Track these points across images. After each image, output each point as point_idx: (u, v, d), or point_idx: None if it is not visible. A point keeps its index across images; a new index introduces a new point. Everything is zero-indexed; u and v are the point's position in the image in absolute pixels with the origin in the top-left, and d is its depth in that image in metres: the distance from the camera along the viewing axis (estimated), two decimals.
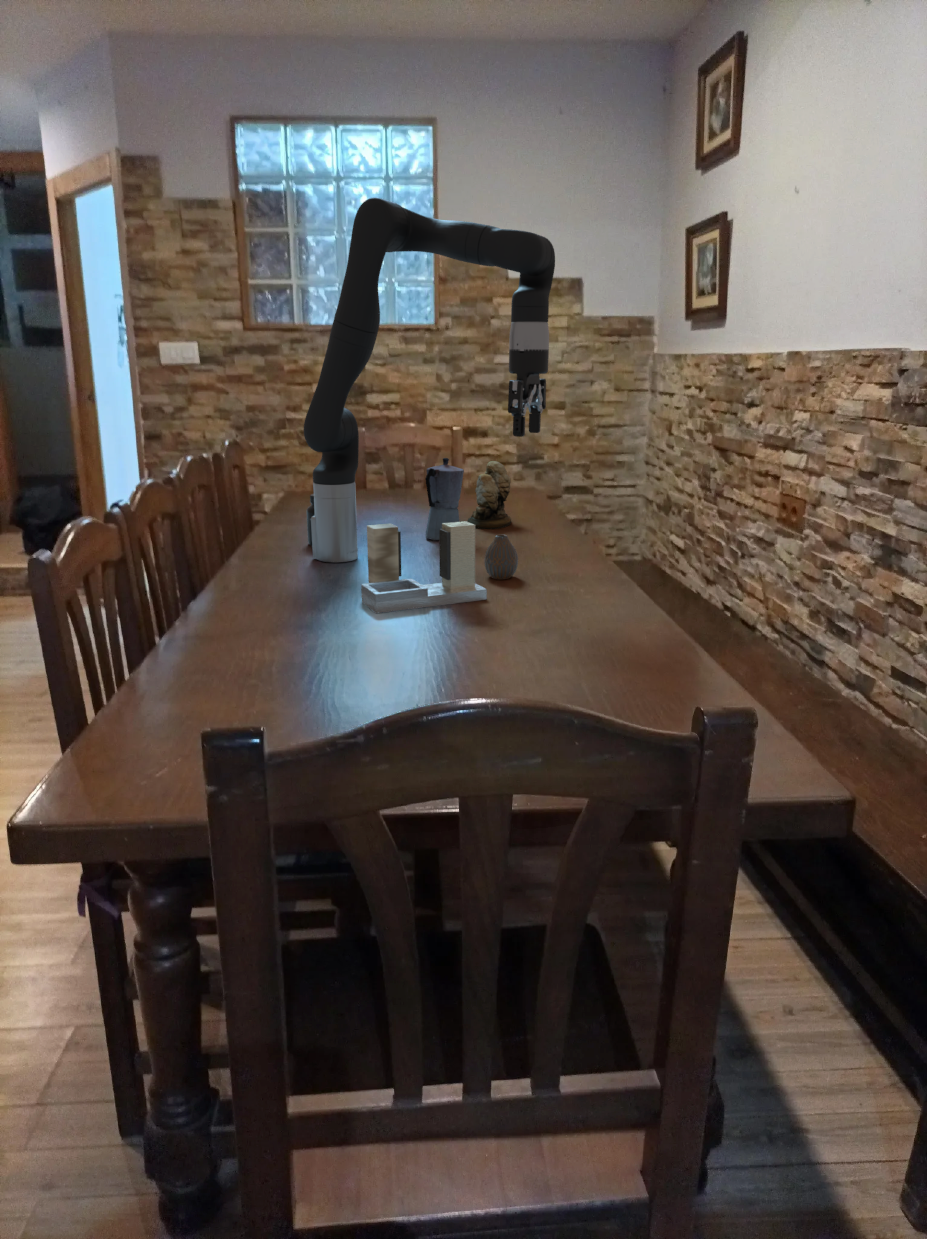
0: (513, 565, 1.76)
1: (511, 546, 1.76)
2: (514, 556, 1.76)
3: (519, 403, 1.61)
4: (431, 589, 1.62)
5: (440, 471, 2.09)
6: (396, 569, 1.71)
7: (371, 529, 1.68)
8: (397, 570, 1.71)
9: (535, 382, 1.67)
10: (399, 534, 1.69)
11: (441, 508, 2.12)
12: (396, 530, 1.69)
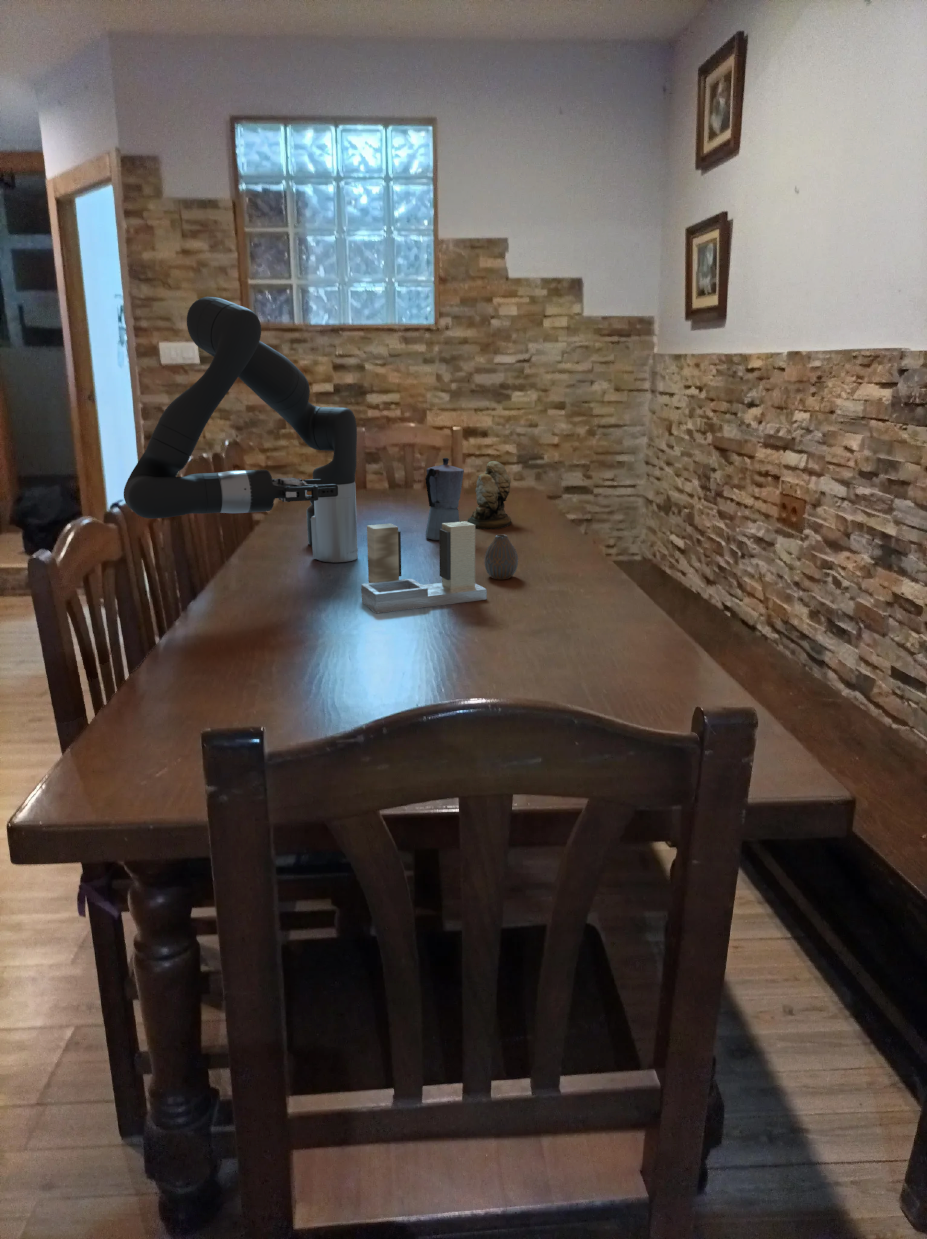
0: (513, 565, 1.76)
1: (511, 546, 1.76)
2: (514, 556, 1.76)
3: None
4: (431, 589, 1.62)
5: (440, 471, 2.09)
6: (396, 569, 1.71)
7: (371, 529, 1.68)
8: (397, 570, 1.71)
9: None
10: (399, 534, 1.69)
11: (441, 508, 2.12)
12: (396, 530, 1.69)
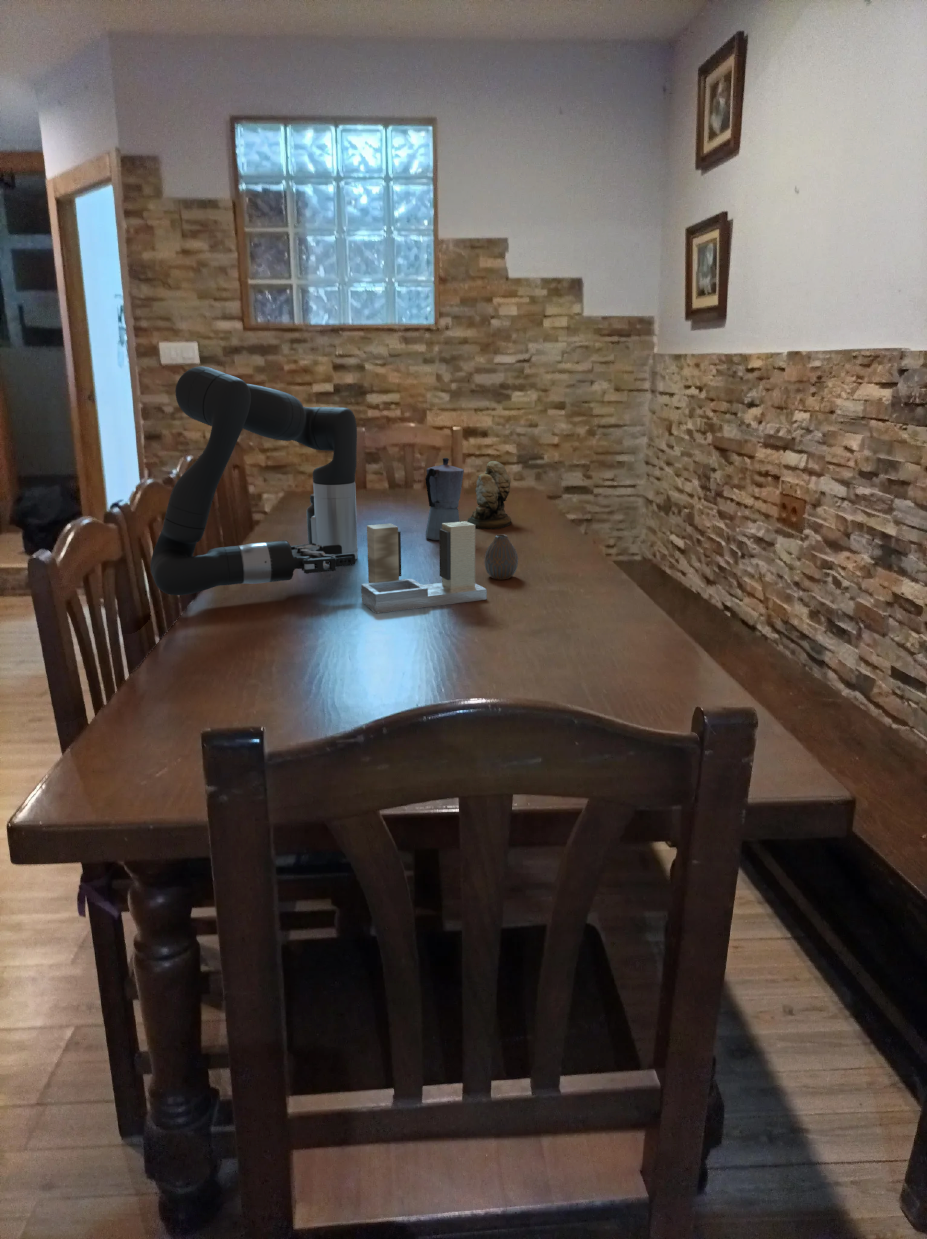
0: (513, 565, 1.76)
1: (511, 546, 1.76)
2: (514, 556, 1.76)
3: None
4: (431, 589, 1.62)
5: (440, 471, 2.09)
6: (396, 569, 1.71)
7: (371, 529, 1.68)
8: (397, 570, 1.71)
9: None
10: (399, 534, 1.69)
11: (441, 508, 2.12)
12: (396, 530, 1.69)
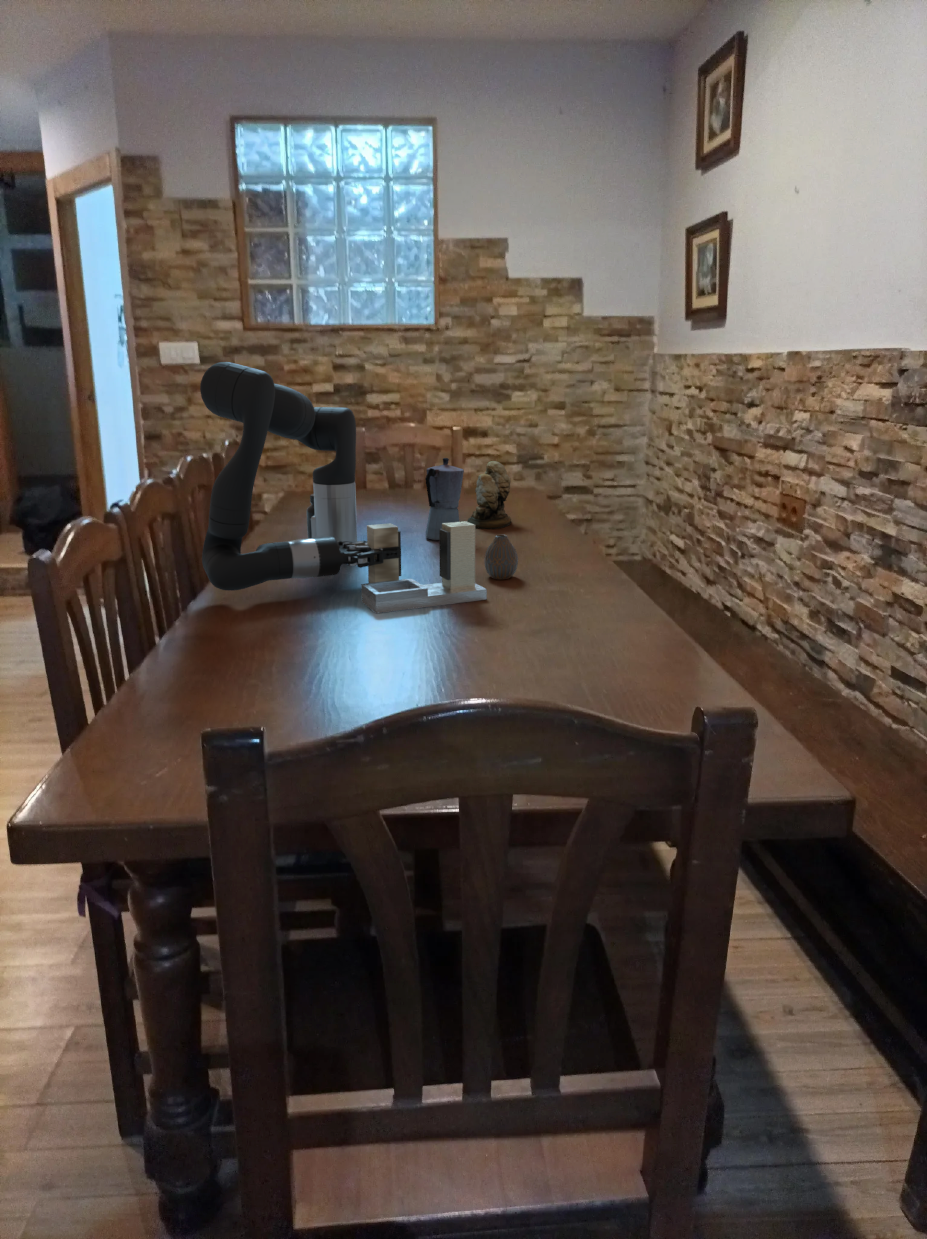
0: (513, 565, 1.76)
1: (511, 546, 1.76)
2: (514, 556, 1.76)
3: None
4: (431, 589, 1.62)
5: (440, 471, 2.09)
6: (396, 569, 1.71)
7: (371, 529, 1.68)
8: (397, 570, 1.71)
9: None
10: (399, 534, 1.69)
11: (441, 508, 2.12)
12: (396, 530, 1.69)
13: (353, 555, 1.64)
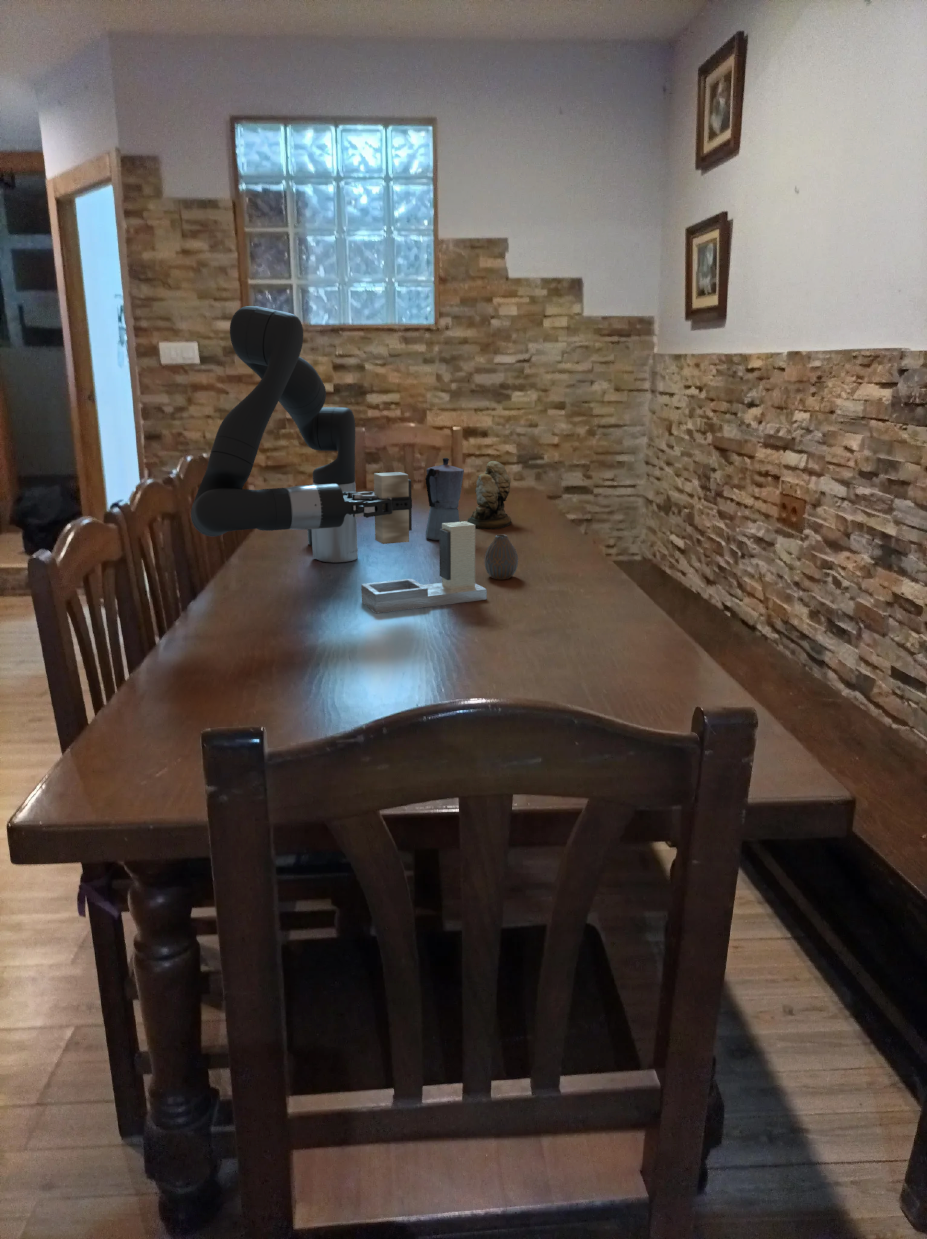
0: (513, 565, 1.76)
1: (511, 546, 1.76)
2: (514, 556, 1.76)
3: None
4: (431, 589, 1.62)
5: (440, 471, 2.09)
6: (406, 522, 1.54)
7: (379, 477, 1.51)
8: (407, 523, 1.54)
9: None
10: (410, 483, 1.52)
11: (441, 508, 2.12)
12: (406, 478, 1.52)
13: (359, 504, 1.47)
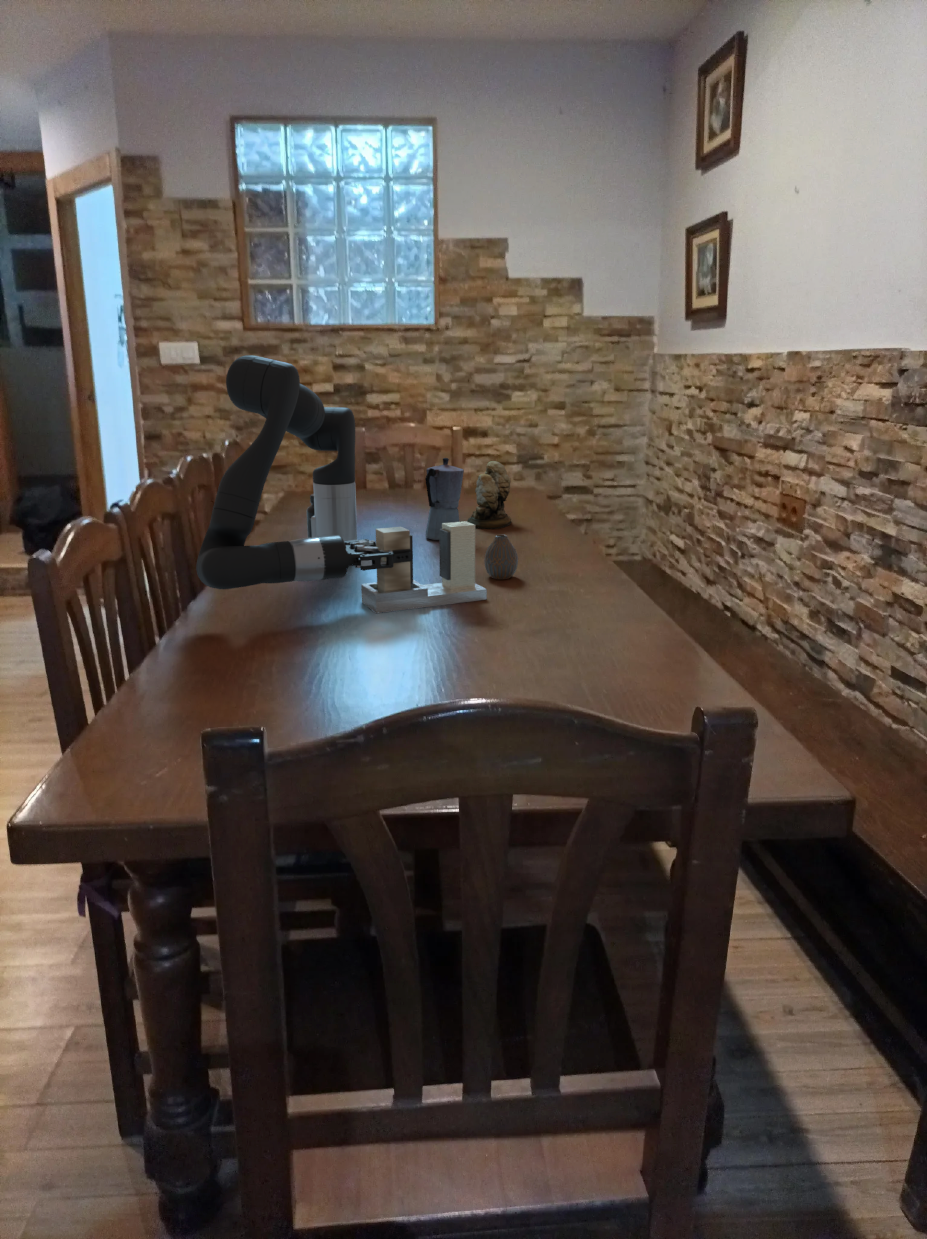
0: (513, 565, 1.76)
1: (511, 546, 1.76)
2: (514, 556, 1.76)
3: None
4: (431, 589, 1.62)
5: (440, 471, 2.09)
6: (407, 576, 1.57)
7: (380, 533, 1.54)
8: (409, 577, 1.57)
9: None
10: (411, 538, 1.55)
11: (441, 508, 2.12)
12: (408, 534, 1.55)
13: (359, 556, 1.49)
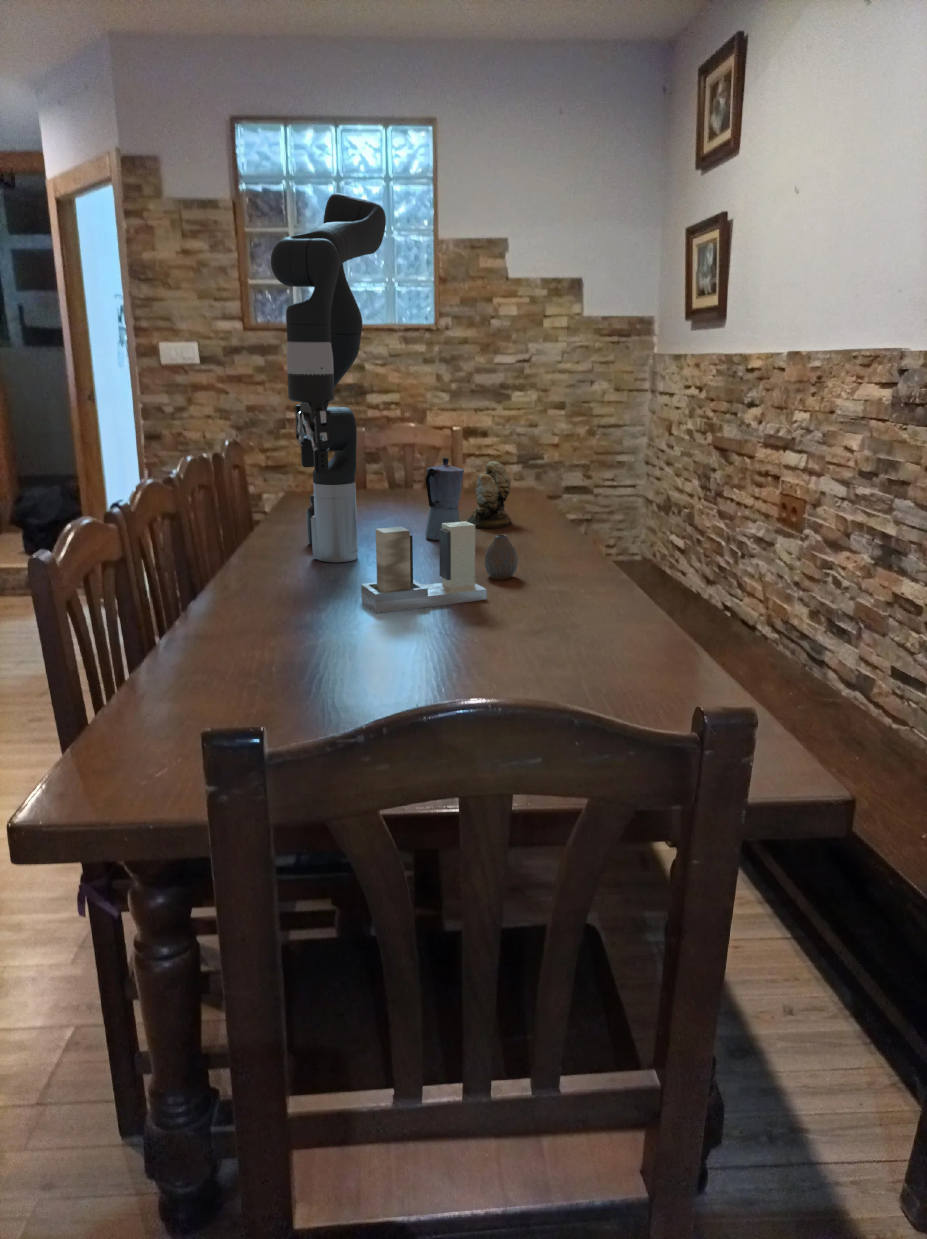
0: (513, 565, 1.76)
1: (511, 546, 1.76)
2: (514, 556, 1.76)
3: None
4: (431, 589, 1.62)
5: (440, 471, 2.09)
6: (407, 576, 1.57)
7: (380, 533, 1.54)
8: (409, 577, 1.57)
9: (307, 411, 1.42)
10: (411, 538, 1.55)
11: (441, 508, 2.12)
12: (408, 534, 1.55)
13: None
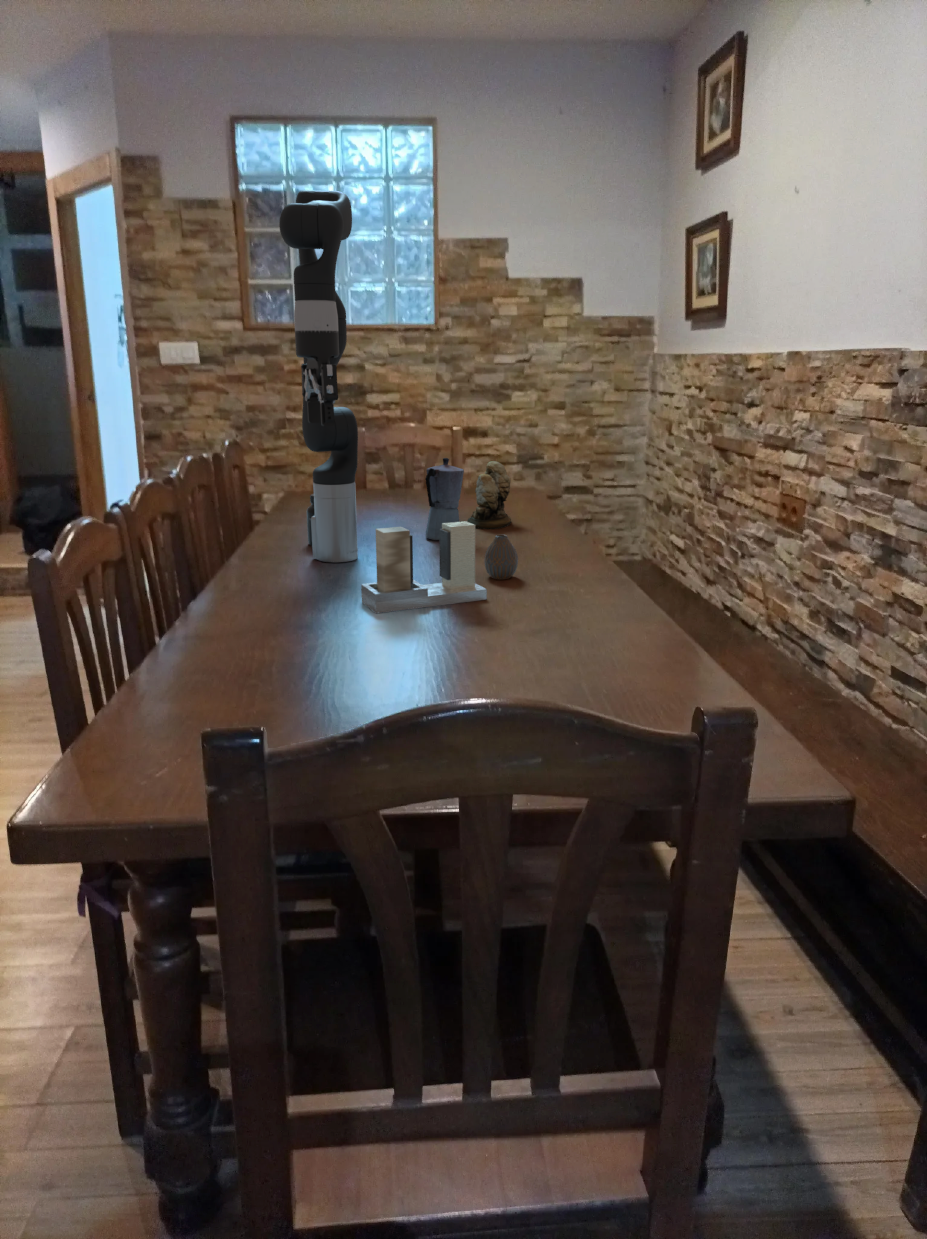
0: (513, 565, 1.76)
1: (511, 546, 1.76)
2: (514, 556, 1.76)
3: None
4: (431, 589, 1.62)
5: (440, 471, 2.09)
6: (407, 576, 1.57)
7: (380, 533, 1.54)
8: (409, 577, 1.57)
9: (313, 367, 1.51)
10: (411, 538, 1.55)
11: (441, 508, 2.12)
12: (408, 534, 1.55)
13: None
